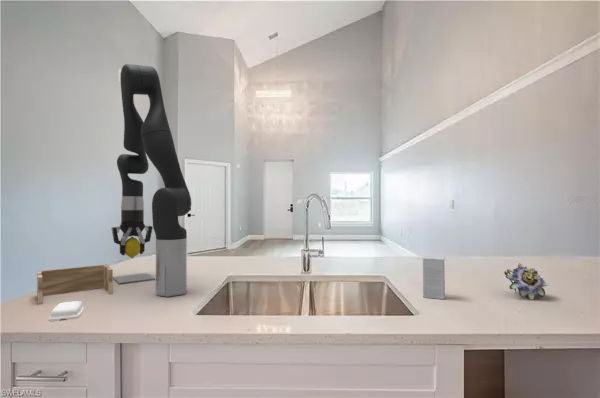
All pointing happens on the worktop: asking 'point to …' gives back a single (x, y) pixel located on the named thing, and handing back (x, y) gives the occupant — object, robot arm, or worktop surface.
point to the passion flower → (526, 281)
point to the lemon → (132, 247)
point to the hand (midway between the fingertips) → (132, 254)
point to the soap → (67, 311)
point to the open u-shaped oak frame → (74, 280)
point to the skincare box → (433, 277)
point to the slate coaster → (133, 278)
